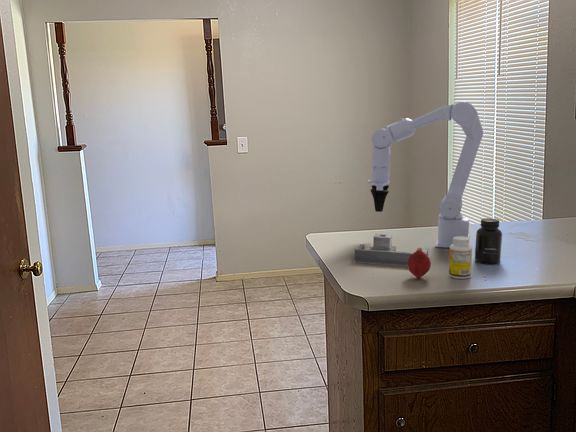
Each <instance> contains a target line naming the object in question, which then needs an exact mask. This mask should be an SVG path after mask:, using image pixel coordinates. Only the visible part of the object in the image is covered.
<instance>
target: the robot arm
mask: <svg viewBox="0 0 576 432" xmlns="http://www.w3.org/2000/svg"><path fill="white" fill-rule="evenodd" d="M452 120H453V121H454V122H455V123H456V124H457V125H459V127H461V130H462V131H463V133H464V134H465V139H464V143H463V145H462V149H461V152H460V155H459V157H458V160H457V162H456V163H457V164H456V167H455V169H454V173H453V176H452V178H451V182H450V184H449V188H448V190H447V193H446V195H445V196H444V197H443V198H442V200H441V202H440V203H439V208H438V209H439V215H438V222H437V223H438V225H437V227H438V228H437V240H436V243H435V247H436V248H446V249H447V248H448V249H450V245H451V244H453V238H454V237H456V236H463V237H468V238H469V239H470V237H471V236H470V235H469V233H470V231H469V230H470V218H468V217H464V216H463V214H462V213H461V212H462V207H463V200H462V198H463V195H464V192H465V189H466V186H467V183H468V179H469V178H470V174H471V172H472V168H473V166H474V163H475V161H476V160H475V159H476V156H477V154H478V151H479V148H480V145H481V142H482V139H483V136H484V129H483V126H482V122H481V120H480V116H479V114H478V111H477V109H476V108H475V107H474V105H473V104H472V103H470V102H469V101H464V100H463V101H459V102H457V103H453V104H447V105H444V106H441V107H439V108H436V109H434V110H432V111H430V112H428V113H425V114H423V115H421V116H419V117H416V118H414V119H410V118H409V117H406V118H403V117H401V118H399V119H398V121H396V122H393V123H391V124H385V125H384V128H379V129H377V130H375V131H374V132H373V133H372V134H371V143H372V153H371V156H372V157H371V179H368V180H367V184H372V185H371V189H370V193H371V195H372V199H373V203H374V210H375V212H378V213H379V212H380V213H382V212H383V210H384V206H385V201H386V198H387V196H388V194H389V193H390V192H389V191H390V190H389V188H390V184H391V181H390V177H391V176H390V174H391V173H390V172H391V153H392V152H391V144H393V143H394V144H395V143H399V142H400V141H403V140H405V139H408V138H410V137H412V136H414V135H415V133H416V131H417V129H420V128H423V127H426V126H428V125H430V124H434V123H436V122H438V121H452Z"/></svg>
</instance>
